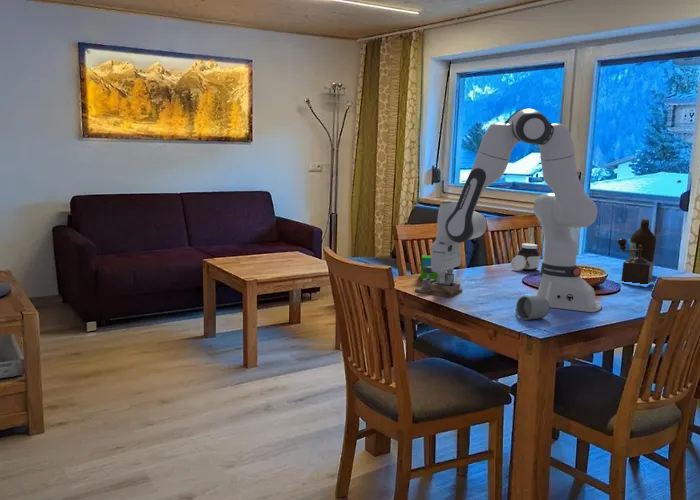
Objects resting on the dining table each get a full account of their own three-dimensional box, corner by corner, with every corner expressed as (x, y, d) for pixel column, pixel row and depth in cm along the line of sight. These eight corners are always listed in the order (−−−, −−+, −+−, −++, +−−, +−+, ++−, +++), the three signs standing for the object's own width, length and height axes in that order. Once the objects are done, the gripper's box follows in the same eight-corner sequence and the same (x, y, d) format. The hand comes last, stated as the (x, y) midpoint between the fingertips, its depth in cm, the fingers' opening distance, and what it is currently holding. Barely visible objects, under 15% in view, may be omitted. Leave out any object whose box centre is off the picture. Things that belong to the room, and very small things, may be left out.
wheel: (436, 279, 242) (437, 266, 241) (431, 281, 238) (432, 268, 237) (425, 277, 244) (426, 265, 244) (420, 279, 241) (421, 267, 240)
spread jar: (539, 269, 292) (542, 244, 290) (537, 273, 281) (539, 247, 279) (513, 266, 296) (515, 241, 294) (509, 270, 286) (511, 245, 284)
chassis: (462, 291, 241) (462, 281, 240) (449, 297, 231) (450, 286, 230) (428, 286, 248) (429, 276, 248) (414, 291, 238) (415, 281, 238)
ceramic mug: (550, 320, 206) (552, 297, 205) (531, 322, 202) (532, 299, 201) (527, 312, 215) (529, 290, 214) (508, 314, 212) (510, 292, 210)
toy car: (442, 276, 268) (444, 253, 266) (443, 283, 255) (445, 258, 253) (418, 275, 269) (419, 251, 267) (417, 281, 256) (419, 257, 254)
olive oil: (647, 272, 294) (654, 218, 290) (655, 277, 284) (662, 221, 279) (623, 271, 295) (629, 217, 291) (630, 275, 285) (636, 220, 281)
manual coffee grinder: (652, 283, 270) (657, 241, 267) (647, 287, 261) (652, 244, 258) (614, 278, 279) (618, 237, 276) (607, 281, 270) (612, 239, 267)
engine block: (453, 286, 238) (454, 271, 237) (449, 288, 235) (450, 273, 234) (440, 285, 241) (441, 270, 240) (436, 286, 237) (437, 271, 236)
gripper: (450, 240, 245) (448, 275, 248) (428, 246, 228) (426, 284, 230) (466, 242, 242) (463, 277, 245) (445, 248, 225) (442, 286, 227)
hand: (445, 281), depth 237 cm, fingers closed on engine block, 4 cm apart
